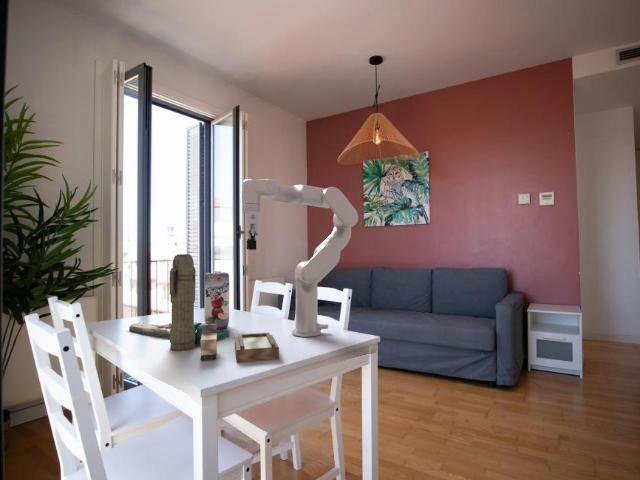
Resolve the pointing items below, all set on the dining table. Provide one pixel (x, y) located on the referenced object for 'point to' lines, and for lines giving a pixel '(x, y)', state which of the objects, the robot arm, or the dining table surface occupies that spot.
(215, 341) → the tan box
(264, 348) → the dock
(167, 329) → the long grey stone
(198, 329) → the bracket
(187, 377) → the dining table surface
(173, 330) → the thermos
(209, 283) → the juice carton
